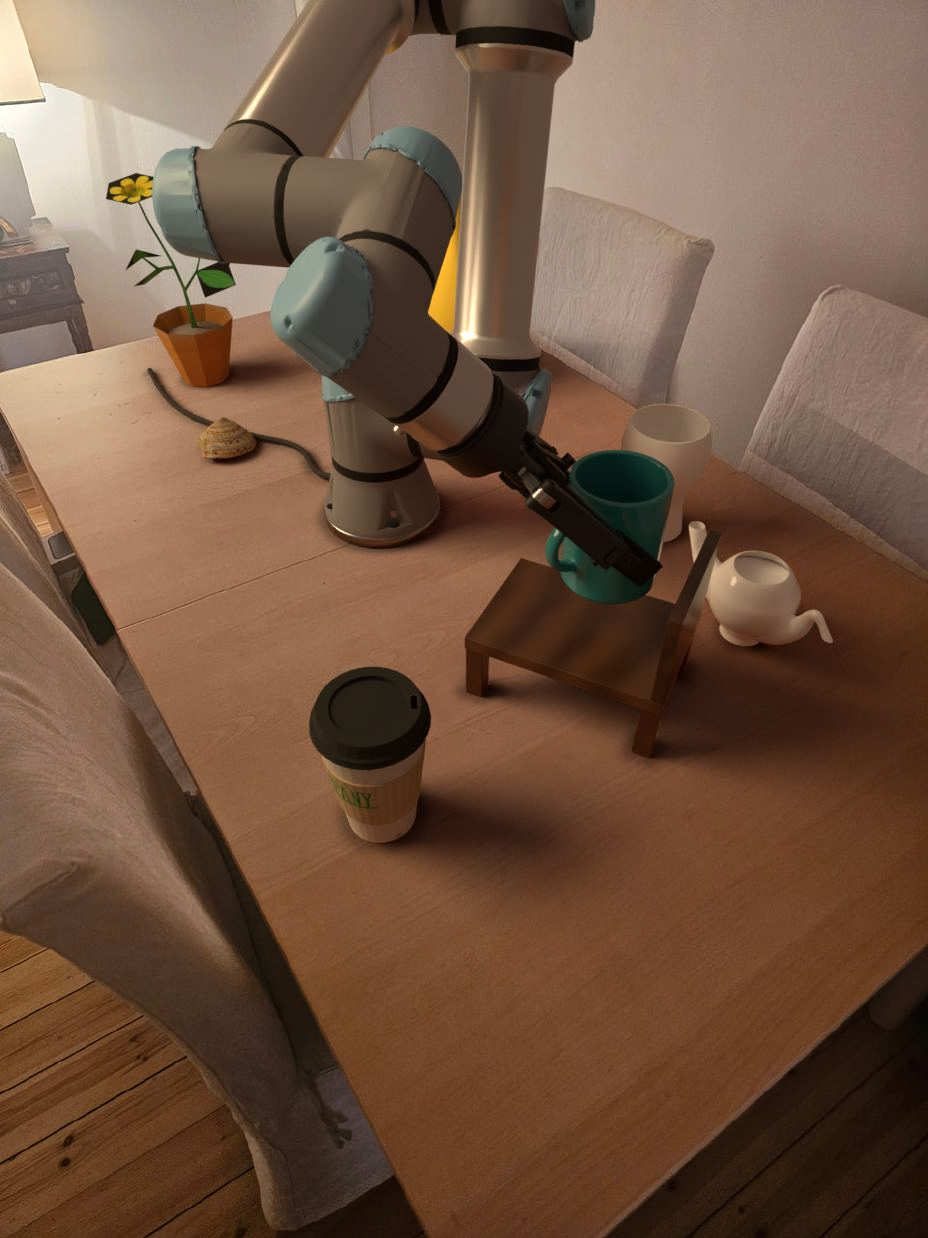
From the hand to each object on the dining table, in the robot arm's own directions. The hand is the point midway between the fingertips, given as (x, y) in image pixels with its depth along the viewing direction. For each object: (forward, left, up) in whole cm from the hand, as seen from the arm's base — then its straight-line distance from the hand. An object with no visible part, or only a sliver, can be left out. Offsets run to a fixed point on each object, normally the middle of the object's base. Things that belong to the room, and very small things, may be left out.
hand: (626, 542), depth 76 cm
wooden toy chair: (-2, -2, -17) cm, 18 cm away
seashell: (-65, +19, -18) cm, 70 cm away
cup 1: (-2, -2, -4) cm, 5 cm away
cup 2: (-3, +28, -18) cm, 33 cm away
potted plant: (-83, +36, -18) cm, 92 cm away
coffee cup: (-13, -26, -18) cm, 34 cm away
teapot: (+12, +13, -18) cm, 25 cm away
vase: (-45, +56, -18) cm, 74 cm away
